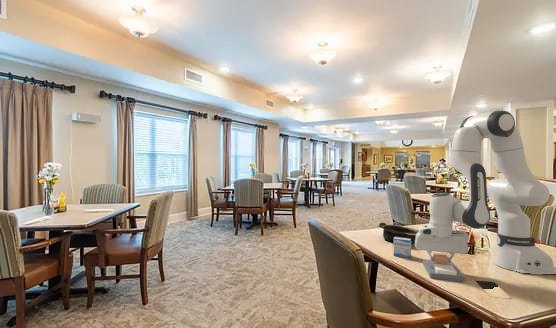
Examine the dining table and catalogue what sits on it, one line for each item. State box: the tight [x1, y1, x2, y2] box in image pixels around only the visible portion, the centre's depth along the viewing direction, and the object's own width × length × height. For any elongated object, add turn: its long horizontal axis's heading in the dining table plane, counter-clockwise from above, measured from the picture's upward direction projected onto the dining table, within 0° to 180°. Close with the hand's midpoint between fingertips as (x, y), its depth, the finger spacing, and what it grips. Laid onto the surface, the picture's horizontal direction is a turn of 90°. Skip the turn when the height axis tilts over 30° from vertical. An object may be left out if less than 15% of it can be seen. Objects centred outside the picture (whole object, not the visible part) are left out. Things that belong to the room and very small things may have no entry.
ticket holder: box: [422, 258, 465, 282], centre depth 121 cm, size 12×17×4 cm
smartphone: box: [475, 280, 499, 290], centre depth 105 cm, size 7×1×14 cm
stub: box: [432, 252, 449, 265], centre depth 124 cm, size 5×5×4 cm
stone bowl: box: [377, 222, 419, 244], centre depth 169 cm, size 25×25×9 cm
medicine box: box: [392, 237, 412, 259], centre depth 142 cm, size 8×4×9 cm, turn 62°
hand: (440, 261), depth 124 cm, fingers closed on stub, 5 cm apart
